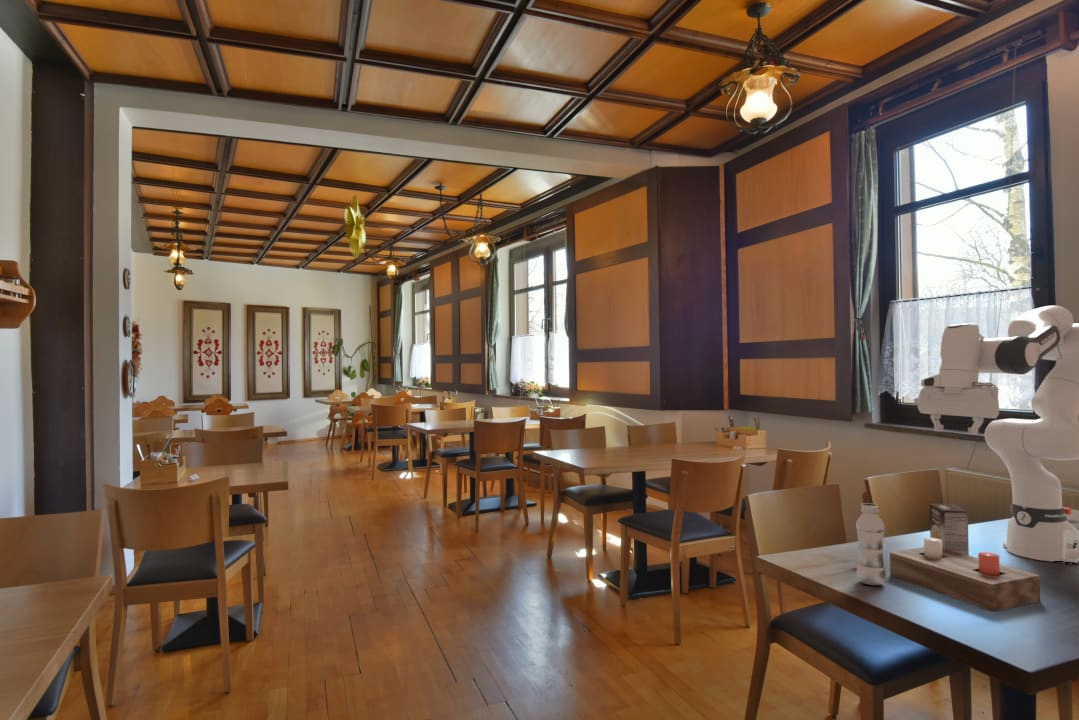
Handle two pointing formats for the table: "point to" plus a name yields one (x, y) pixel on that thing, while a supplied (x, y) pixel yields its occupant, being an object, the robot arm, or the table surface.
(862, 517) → the plastic bottle
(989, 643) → the table surface
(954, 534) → the coffee box
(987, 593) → the plug housing
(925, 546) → the plug
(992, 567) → the red plug
